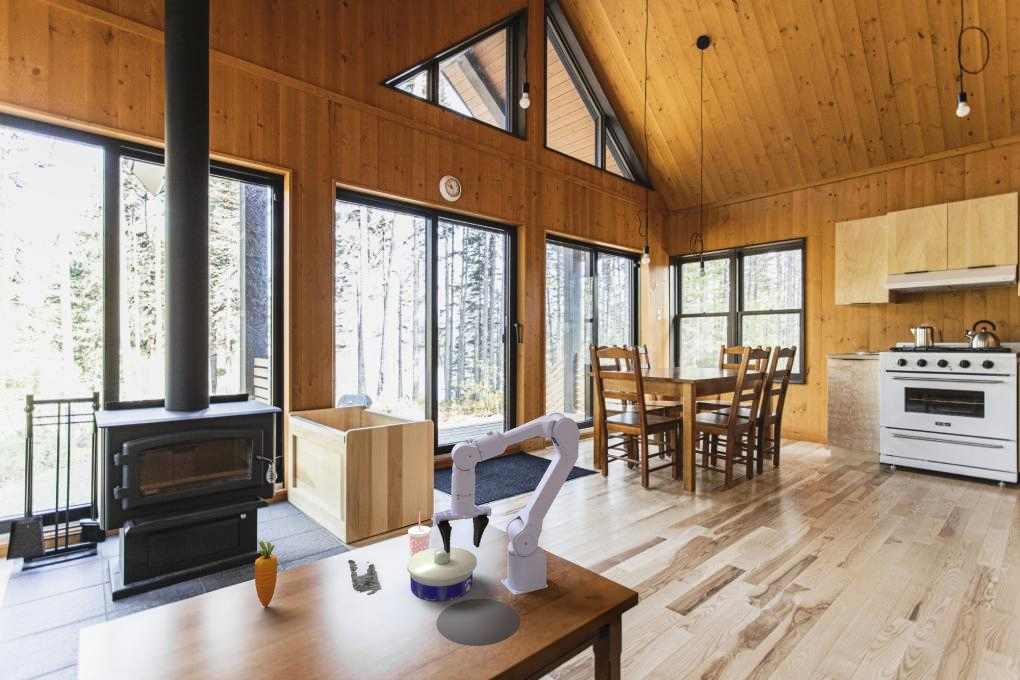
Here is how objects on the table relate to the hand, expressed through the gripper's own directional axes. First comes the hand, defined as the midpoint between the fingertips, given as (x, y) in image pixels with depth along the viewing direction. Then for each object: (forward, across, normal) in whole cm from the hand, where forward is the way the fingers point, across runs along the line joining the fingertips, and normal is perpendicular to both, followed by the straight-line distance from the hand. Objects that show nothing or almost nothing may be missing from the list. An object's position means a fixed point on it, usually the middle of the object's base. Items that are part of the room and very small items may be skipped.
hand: (461, 548), depth 122 cm
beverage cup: (+11, -4, +20) cm, 23 cm away
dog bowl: (+11, -4, +4) cm, 12 cm away
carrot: (+11, -42, +13) cm, 46 cm away
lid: (+5, -4, +4) cm, 7 cm away
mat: (+10, -2, -14) cm, 18 cm away
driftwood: (+12, -19, +18) cm, 29 cm away
